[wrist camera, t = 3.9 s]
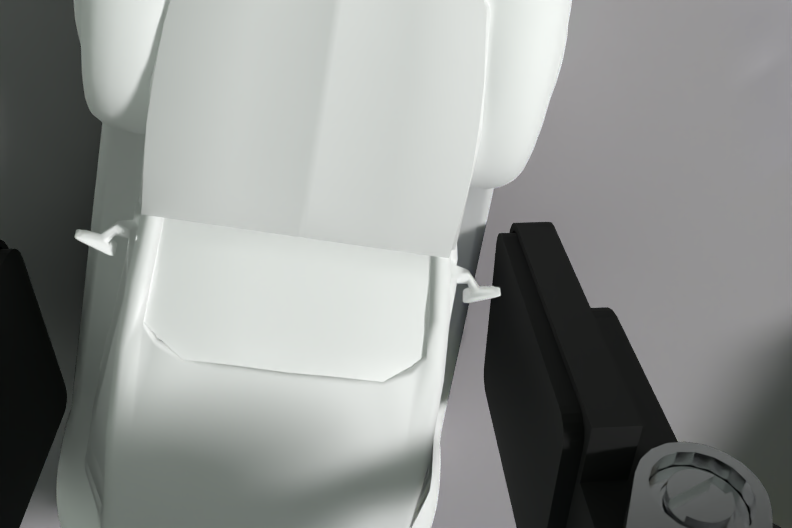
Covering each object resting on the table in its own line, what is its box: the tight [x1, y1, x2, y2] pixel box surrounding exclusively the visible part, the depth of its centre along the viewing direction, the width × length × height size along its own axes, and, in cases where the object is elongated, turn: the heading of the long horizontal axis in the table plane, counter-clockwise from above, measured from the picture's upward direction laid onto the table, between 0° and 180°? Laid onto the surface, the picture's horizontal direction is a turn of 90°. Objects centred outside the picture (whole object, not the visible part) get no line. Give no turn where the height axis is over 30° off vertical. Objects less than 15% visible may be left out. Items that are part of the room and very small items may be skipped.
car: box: [56, 0, 572, 528], centre depth 10 cm, size 12×6×5 cm, turn 168°
